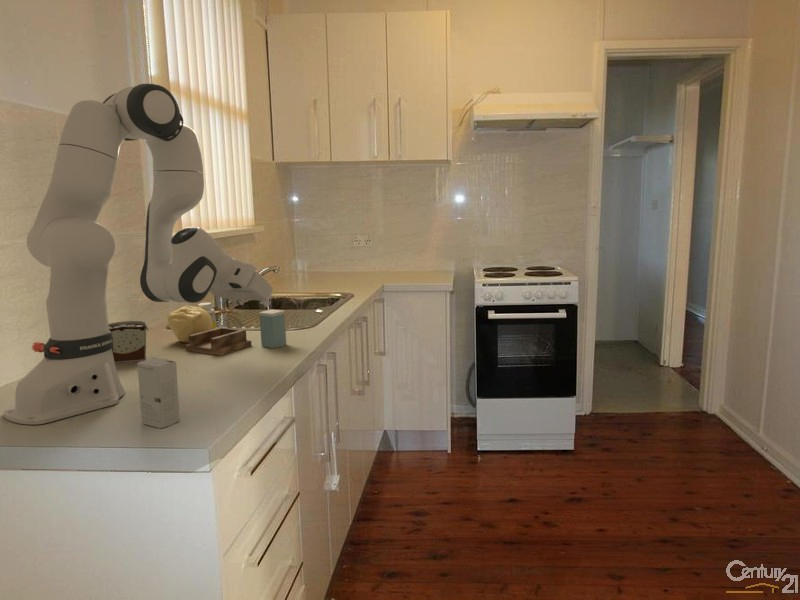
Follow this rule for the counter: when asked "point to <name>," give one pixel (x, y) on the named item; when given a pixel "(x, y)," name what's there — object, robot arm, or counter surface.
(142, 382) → the skincare box
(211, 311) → the supplement bottle
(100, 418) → the counter surface
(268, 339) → the tin
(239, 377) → the counter surface
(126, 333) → the food container
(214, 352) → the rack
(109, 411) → the counter surface
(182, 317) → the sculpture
